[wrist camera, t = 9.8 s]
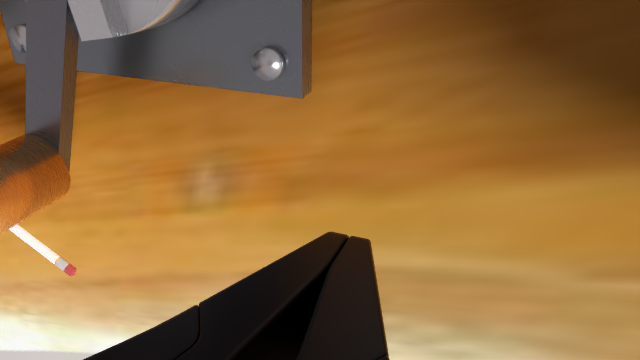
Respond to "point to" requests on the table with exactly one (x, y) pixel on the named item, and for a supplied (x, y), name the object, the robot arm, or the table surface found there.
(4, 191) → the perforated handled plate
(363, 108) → the table surface
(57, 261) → the pencil
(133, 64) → the base plate
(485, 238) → the table surface
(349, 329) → the robot arm
